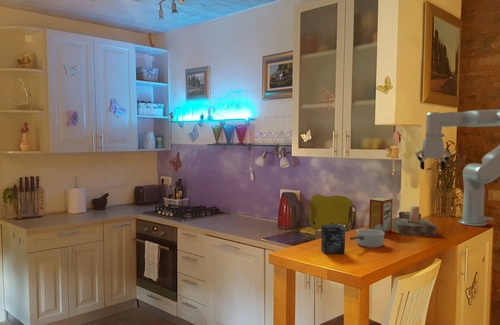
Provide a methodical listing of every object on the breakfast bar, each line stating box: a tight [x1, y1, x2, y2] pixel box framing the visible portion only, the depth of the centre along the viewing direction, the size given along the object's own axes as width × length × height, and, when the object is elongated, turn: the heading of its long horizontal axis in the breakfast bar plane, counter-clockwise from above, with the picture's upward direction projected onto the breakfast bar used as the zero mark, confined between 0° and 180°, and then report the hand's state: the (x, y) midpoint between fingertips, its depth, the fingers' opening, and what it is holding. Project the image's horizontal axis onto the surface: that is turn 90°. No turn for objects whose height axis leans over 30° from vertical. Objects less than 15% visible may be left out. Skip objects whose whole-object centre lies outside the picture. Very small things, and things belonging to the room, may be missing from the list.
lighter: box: [375, 220, 391, 238], centre depth 189 cm, size 7×2×8 cm, turn 43°
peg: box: [409, 205, 420, 224], centre depth 199 cm, size 4×4×12 cm
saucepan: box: [349, 228, 386, 249], centre depth 172 cm, size 12×20×6 cm, turn 133°
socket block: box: [392, 217, 438, 237], centre depth 199 cm, size 16×16×4 cm
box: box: [320, 223, 346, 255], centre depth 163 cm, size 8×6×11 cm
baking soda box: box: [368, 197, 393, 234], centre depth 198 cm, size 10×6×16 cm
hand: (432, 169), depth 216 cm, fingers open, 9 cm apart
